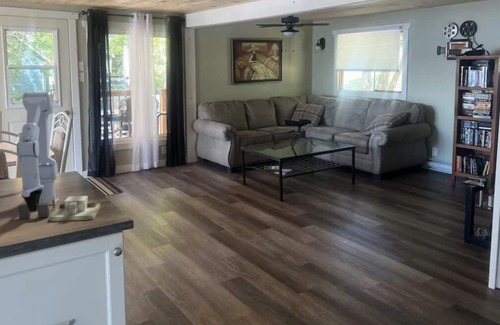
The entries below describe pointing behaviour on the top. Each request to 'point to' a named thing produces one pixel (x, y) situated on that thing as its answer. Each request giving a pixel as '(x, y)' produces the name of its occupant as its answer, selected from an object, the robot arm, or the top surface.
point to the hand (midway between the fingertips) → (33, 210)
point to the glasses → (41, 208)
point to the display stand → (76, 209)
